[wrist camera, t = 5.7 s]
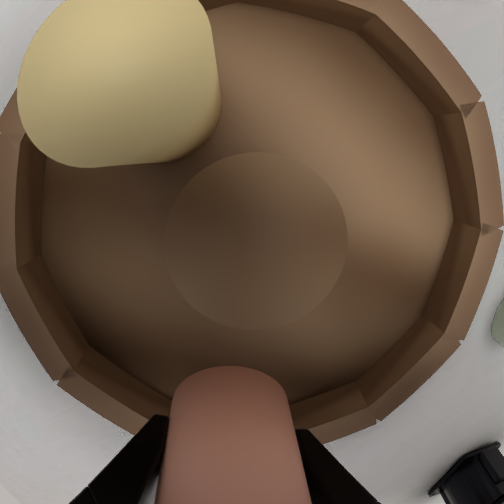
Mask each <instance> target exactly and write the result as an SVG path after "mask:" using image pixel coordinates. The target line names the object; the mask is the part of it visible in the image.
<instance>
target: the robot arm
mask: <svg viewBox="0 0 504 504" xmlns="http://www.w3.org/2000/svg"><path fill="white" fill-rule="evenodd" d="M168 422H169V417H168V416H166V415H160V414H154V415H153V416H152V417H151V418H150V419H149V421H148V422H147V423H146V424H145V425H144V426H143V427H142V428H141V429H140V430H139V431H138V433H137V434H136V435H135V436H134V437H133V438H132V439H131V440H130V441H129V442H128V443H127V444H126V446H125V447H124V448H123V449H122V450H121V451H120V452H119V453H118V454H117V455H116V456H115V457H114V458H113V459H112V460H111V461H110V463H109V464H108V465H107V466H106V467H105V468H104V469H103V470H102V471H101V472H100V473H99V474H98V475H97V476H96V477H95V478H94V479H93V480H92V481H91V482H90V483H89V484H88V487H89V488H88V487H85V488H84V489H83V490H82V491H81V492H80V493H79V494H78V495H77V496H76V497H75V498H74V499H73V500H72V501H71V502H70V503H69V504H154V502H155V496H156V489H157V483H158V477H159V471H160V465H161V460H162V455H163V450H164V444H165V438H166V433H167V428H168ZM295 433H296V438H297V442H298V446H299V451H300V455H301V459H302V463H303V468H304V472H305V476H306V481H307V485H308V489H309V493H310V498H311V502H312V504H381V503H380V502H377V500H376V499H375V498H374V497H373V496H372V495H371V494H370V493H369V492H368V491H367V490H366V489H365V488H364V487H363V486H362V485H361V484H360V483H359V482H358V481H357V480H356V479H355V478H354V477H353V476H352V475H351V474H350V473H349V472H348V471H347V470H346V469H345V468H344V467H343V466H342V465H341V464H340V463H339V462H338V461H337V459H336V458H335V457H334V456H333V455H332V454H331V453H330V452H329V451H328V450H327V449H326V448H325V447H324V446H323V445H322V444H321V443H320V441H319V440H318V439H317V438H316V437H315V436H314V435H313V434H312V433H311V432H310V431H309V430H308V429H295ZM500 446H501V444H500V443H499V442H497V443H495V444H493V445H490V446H488V447H485V448H483V449H480V450H478V451H475V452H472V453H470V454H467V455H465V456H463V457H462V458H461V459H460V460H459V461H458V462H457V463H456V465H455V466H454V467H453V468H452V469H451V470H450V471H449V472H448V473H447V474H446V475H445V476H444V478H443V479H442V480H441V481H440V482H439V483H438V484H437V485H436V486H435V487H434V488H433V489H432V490H431V491H430V492H429V493H428V495H429V497H431V496H434V495H437V494H441V496H442V497H443V499H444V501H445V503H446V504H504V456H503V455H502V454H501V452H500V451H499V450H498V448H499V447H500Z"/></svg>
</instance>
